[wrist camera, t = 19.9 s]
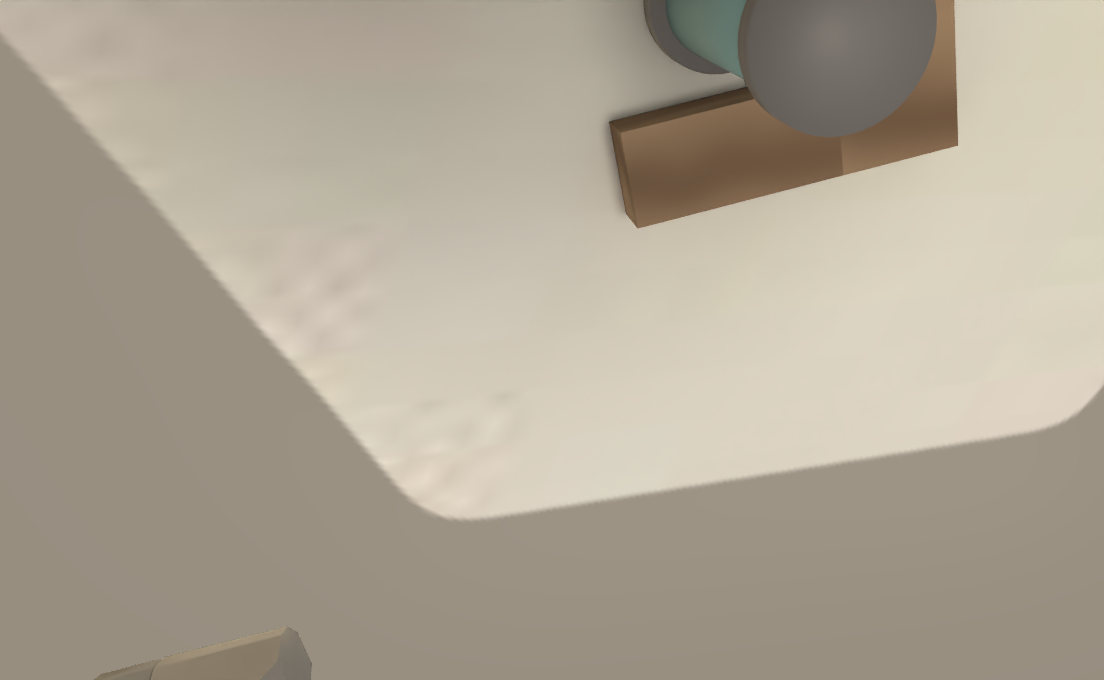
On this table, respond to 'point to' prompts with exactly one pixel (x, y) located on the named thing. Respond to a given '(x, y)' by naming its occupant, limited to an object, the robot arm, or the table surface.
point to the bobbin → (805, 53)
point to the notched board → (771, 143)
